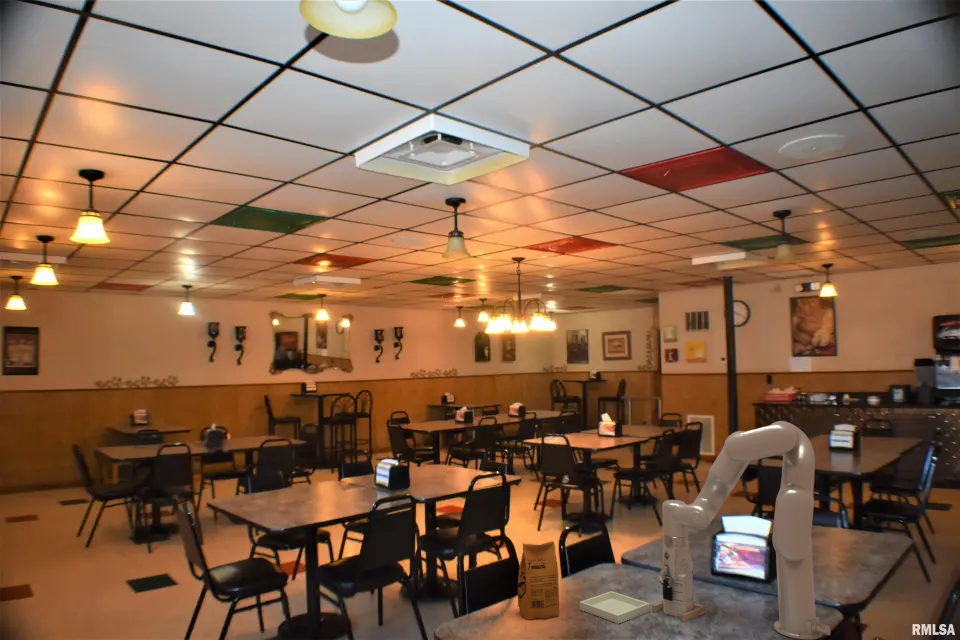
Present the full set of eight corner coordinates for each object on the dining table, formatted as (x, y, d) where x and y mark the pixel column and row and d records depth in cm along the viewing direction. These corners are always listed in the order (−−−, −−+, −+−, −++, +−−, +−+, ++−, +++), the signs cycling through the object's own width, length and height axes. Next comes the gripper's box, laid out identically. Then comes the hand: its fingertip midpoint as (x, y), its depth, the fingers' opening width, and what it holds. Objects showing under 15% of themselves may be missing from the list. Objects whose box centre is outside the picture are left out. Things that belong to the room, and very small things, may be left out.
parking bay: (705, 613, 199) (705, 606, 199) (684, 622, 192) (683, 615, 192) (674, 603, 208) (673, 596, 208) (652, 611, 201) (652, 605, 201)
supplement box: (672, 606, 205) (670, 566, 206) (694, 611, 200) (693, 570, 202) (662, 613, 199) (661, 572, 200) (685, 618, 195) (684, 576, 196)
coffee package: (515, 610, 204) (514, 539, 206) (552, 606, 207) (550, 537, 209) (523, 621, 195) (521, 547, 197) (562, 618, 197) (560, 545, 199)
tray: (650, 611, 201) (650, 603, 201) (618, 624, 191) (618, 615, 191) (611, 598, 213) (611, 591, 213) (579, 610, 203) (579, 601, 204)
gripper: (669, 547, 194) (671, 606, 192) (701, 538, 204) (703, 593, 203) (648, 542, 199) (650, 599, 198) (681, 533, 210) (682, 587, 209)
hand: (677, 596), depth 200 cm, fingers open, 9 cm apart
